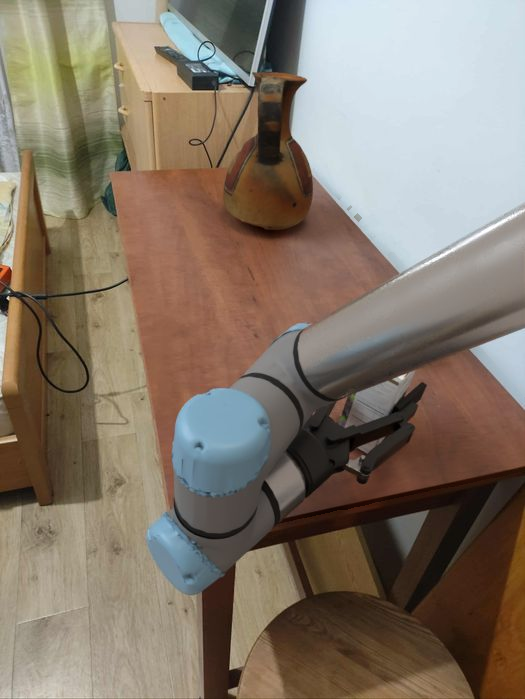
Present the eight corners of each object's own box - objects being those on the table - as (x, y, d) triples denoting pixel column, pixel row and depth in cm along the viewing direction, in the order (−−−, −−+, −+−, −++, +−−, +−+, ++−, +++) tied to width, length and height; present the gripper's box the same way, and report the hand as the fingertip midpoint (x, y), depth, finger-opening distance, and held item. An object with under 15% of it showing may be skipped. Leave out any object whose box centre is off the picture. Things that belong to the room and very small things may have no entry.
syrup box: (353, 412, 73) (379, 334, 64) (390, 433, 71) (422, 355, 61) (334, 435, 69) (358, 356, 60) (372, 458, 67) (404, 380, 58)
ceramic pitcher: (308, 205, 124) (332, 69, 105) (306, 246, 109) (334, 95, 89) (228, 194, 124) (237, 56, 105) (215, 233, 109) (223, 80, 89)
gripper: (220, 440, 61) (337, 359, 75) (345, 552, 52) (453, 437, 66) (223, 396, 57) (347, 319, 70) (362, 512, 47) (474, 396, 61)
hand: (398, 376), depth 68 cm, fingers closed on syrup box, 6 cm apart
